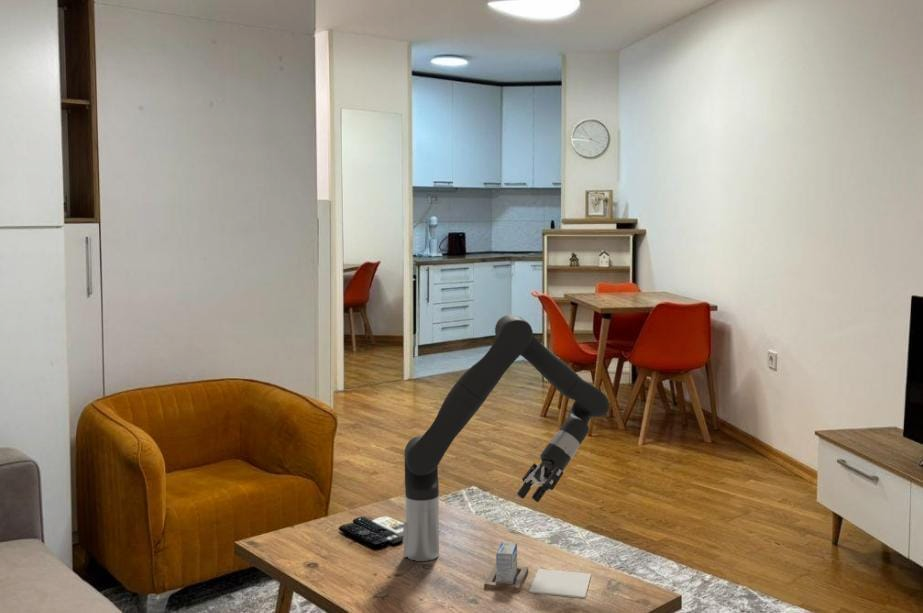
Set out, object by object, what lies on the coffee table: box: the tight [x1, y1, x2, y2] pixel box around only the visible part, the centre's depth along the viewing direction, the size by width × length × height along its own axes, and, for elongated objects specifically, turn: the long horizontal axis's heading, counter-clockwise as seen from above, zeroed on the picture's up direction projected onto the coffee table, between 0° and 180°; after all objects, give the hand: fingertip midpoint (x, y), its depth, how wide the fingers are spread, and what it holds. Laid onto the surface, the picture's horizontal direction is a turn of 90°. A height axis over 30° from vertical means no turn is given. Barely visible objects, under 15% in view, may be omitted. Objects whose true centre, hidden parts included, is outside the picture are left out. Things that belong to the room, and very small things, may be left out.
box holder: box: [483, 563, 529, 593], centre depth 226 cm, size 9×13×1 cm
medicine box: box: [495, 541, 518, 584], centre depth 225 cm, size 8×4×9 cm, turn 168°
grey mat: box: [528, 568, 592, 599], centre depth 223 cm, size 14×14×1 cm
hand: (527, 498), depth 234 cm, fingers open, 8 cm apart
